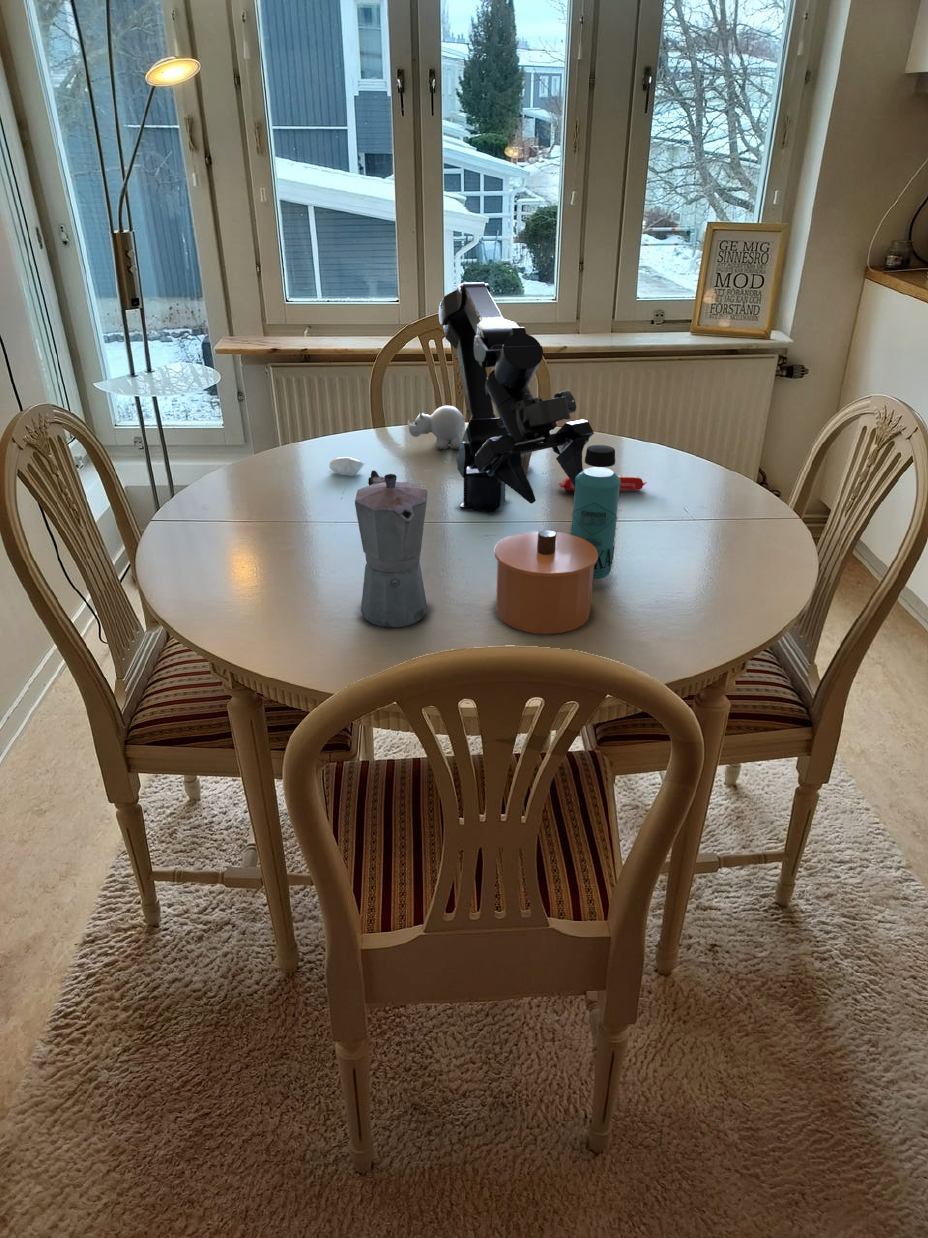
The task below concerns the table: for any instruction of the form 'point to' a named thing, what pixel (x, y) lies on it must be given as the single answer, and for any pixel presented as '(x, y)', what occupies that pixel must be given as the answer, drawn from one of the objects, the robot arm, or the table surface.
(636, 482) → the candy bar
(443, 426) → the toy rhinoceros
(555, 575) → the pot lid
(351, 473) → the dumpling
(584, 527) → the beverage bottle
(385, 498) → the moka pot
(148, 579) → the table surface
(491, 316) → the robot arm
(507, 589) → the pot
